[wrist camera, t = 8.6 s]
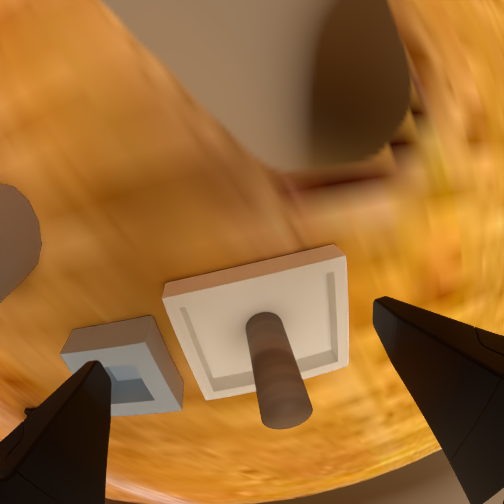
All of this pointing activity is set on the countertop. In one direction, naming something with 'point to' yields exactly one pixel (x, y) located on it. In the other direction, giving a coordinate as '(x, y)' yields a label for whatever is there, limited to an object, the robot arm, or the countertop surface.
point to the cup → (16, 239)
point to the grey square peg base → (130, 365)
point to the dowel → (276, 373)
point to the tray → (256, 301)
